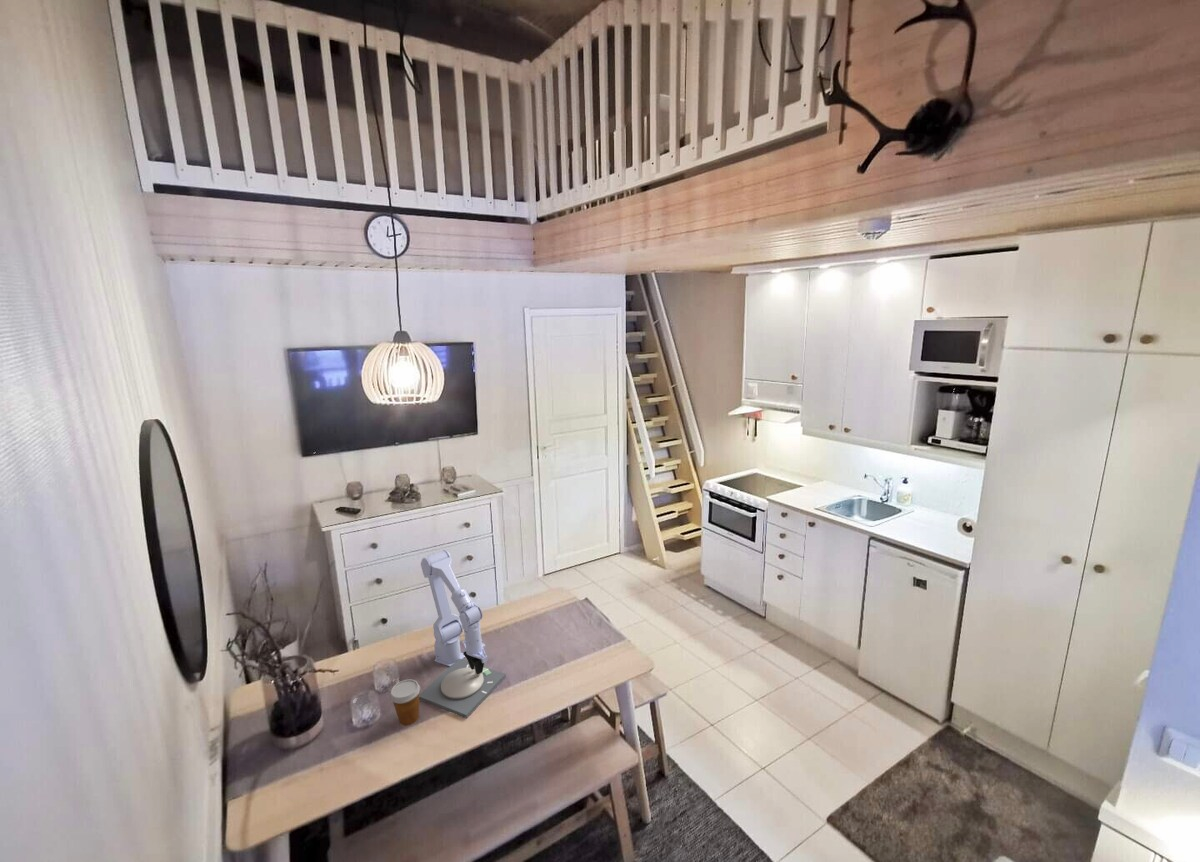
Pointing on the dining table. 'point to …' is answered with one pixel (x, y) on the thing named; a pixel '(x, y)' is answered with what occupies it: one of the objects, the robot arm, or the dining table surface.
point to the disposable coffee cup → (406, 701)
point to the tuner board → (462, 705)
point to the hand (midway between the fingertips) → (476, 670)
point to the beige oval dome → (462, 683)
